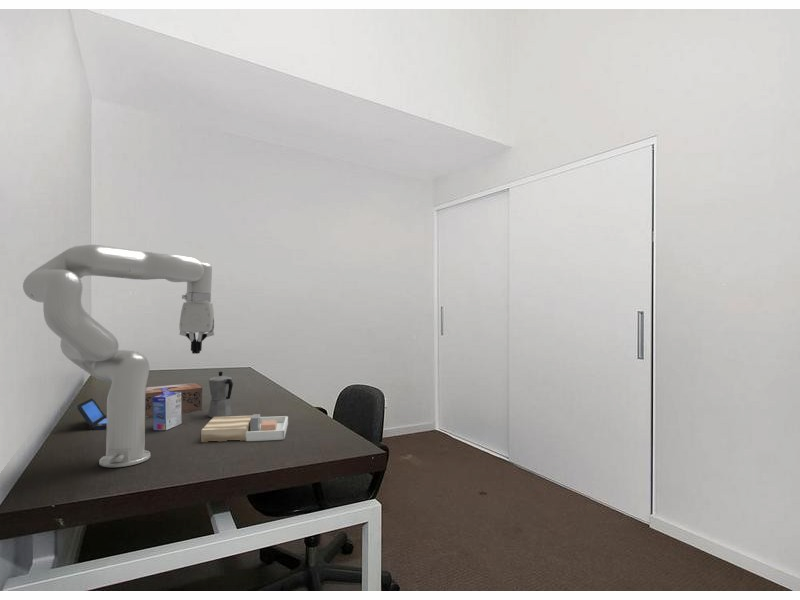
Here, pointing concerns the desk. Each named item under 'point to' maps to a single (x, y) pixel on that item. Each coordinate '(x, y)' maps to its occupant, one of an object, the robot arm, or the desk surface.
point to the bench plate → (226, 428)
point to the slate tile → (255, 422)
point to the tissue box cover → (189, 397)
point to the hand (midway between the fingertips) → (196, 353)
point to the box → (269, 435)
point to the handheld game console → (93, 414)
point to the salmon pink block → (269, 425)
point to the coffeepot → (220, 396)
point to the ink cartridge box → (166, 410)
